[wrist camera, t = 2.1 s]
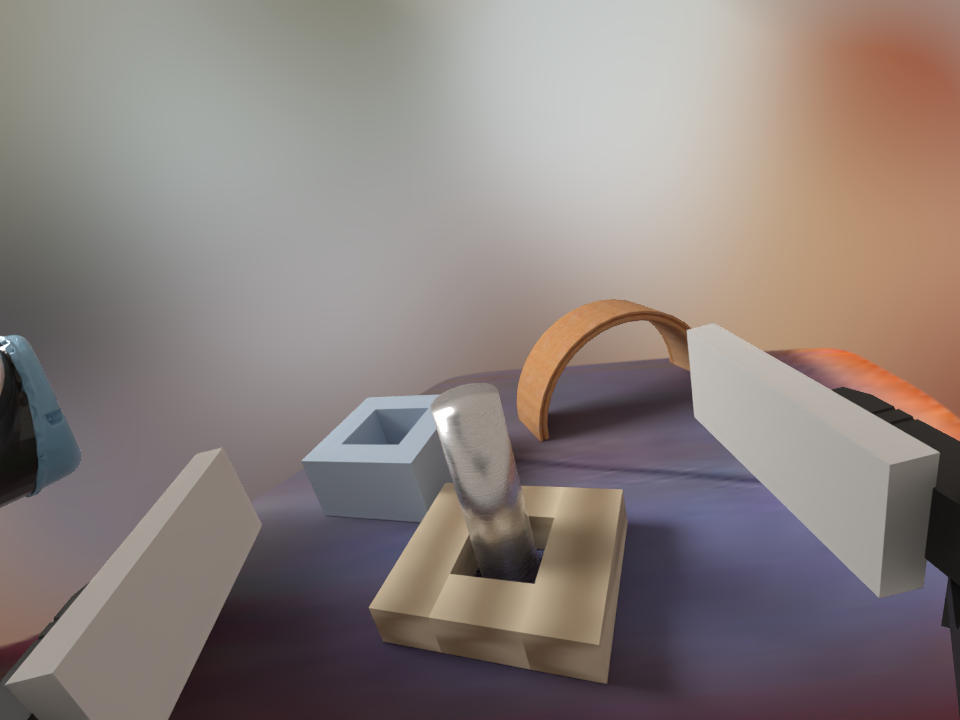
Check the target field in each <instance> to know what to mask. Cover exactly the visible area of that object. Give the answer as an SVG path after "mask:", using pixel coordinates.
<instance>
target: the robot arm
mask: <svg viewBox="0 0 960 720" xmlns="http://www.w3.org/2000/svg"><path fill="white" fill-rule="evenodd" d="M687 340H688V351H689V363H690V374H691V385H692V396H693V407H694V417H695V418H696V419H697V420H698V421H699V422H700V423H701V424H702V425H703V426H704V427H705V428H706V429H707V430H708V431H709V432H710V433H711V434H712V435H713V436H714V437H715V438H716V439H717V440H718V441H720V442H721V443H722V444H723V445H724V446H725V447H726V448H727V449H728V450H729V451H730V452H731V453H732V454H733V455H734V456H735V457H736V458H737V459H738V460H739V461H740V462H741V463H742V464H743V465H744V466H745V467H746V468H747V469H748V470H749V471H750V472H751V473H752V474H753V475H754V476H755V477H756V478H757V479H758V480H759V481H760V482H761V483H762V484H763V485H764V486H765V487H766V488H767V489H768V490H769V491H770V492H771V493H773V494H774V495H775V496H776V497H777V498H778V499H779V500H780V501H781V502H782V503H783V504H784V505H785V506H786V507H787V508H788V509H789V510H790V511H791V512H792V513H793V514H794V515H795V516H796V517H797V518H798V519H799V520H800V521H801V522H802V523H803V524H804V525H805V526H806V527H807V528H808V529H809V530H810V531H811V532H812V533H813V534H814V535H815V536H816V537H817V538H818V539H819V540H820V541H821V542H822V543H823V544H824V545H826V546H827V547H828V548H829V549H830V550H831V551H832V552H833V553H834V554H835V555H836V556H837V557H838V558H839V559H840V560H841V561H842V562H843V563H844V564H845V565H846V566H847V567H848V568H849V569H850V570H851V571H852V572H853V573H854V574H855V575H856V576H857V577H858V578H859V579H860V580H861V581H862V582H863V583H864V584H865V585H866V586H867V587H868V588H869V589H870V590H871V591H872V592H873V593H874V594H875V595H876V596H877V597H879V598H882V597H886V596H890V595H894V594H898V593H902V592H906V591H910V590H914V589H919V588H923V585H924V577H925V569H926V561H927V560H928V561H929V562H930V563H932V564H933V565H934V566H935V567H937V568H938V569H939V570H940V571H942V572H943V573H944V574H945V575H947V576H948V584H947V591H946V598H945V604H944V611H943V618H942V625H941V626H944V627H948V628H950V632H951V641H952V651H953V660H954V669H955V678H956V688H957V697H958V706H959V715H960V441H958V440H956V439H954V438H952V437H950V436H948V435H947V434H945V433H943V432H941V431H939V430H937V429H935V428H933V427H931V426H930V425H928V424H926V423H924V422H922V421H920V420H918V419H917V420H914V419H913V416H911V415H909V414H907V413H905V412H903V411H901V410H899V409H897V410H895V408H894V406H892V405H890V404H888V403H886V402H884V401H882V400H881V399H879V398H877V397H875V396H873V395H871V394H867V393H863V392H860V391H856V390H852V389H849V388H845V387H841V388H837V389H833V390H830V389H828V388H827V387H825V386H823V385H821V384H820V383H818V382H816V381H814V380H813V379H811V378H809V377H807V376H806V375H804V374H802V373H800V372H799V371H797V370H795V369H793V368H792V367H790V366H788V365H786V364H785V363H783V362H781V361H779V360H778V359H776V358H774V357H772V356H771V355H769V354H767V353H765V352H764V351H762V350H760V349H758V348H757V347H755V346H753V345H751V344H750V343H748V342H746V341H744V340H743V339H741V338H739V337H737V336H736V335H734V334H732V333H731V332H729V331H727V330H725V329H723V328H722V327H720V326H718V325H717V324H715V323H712V324H708V325H705V326H700V327H697V328H692V329H689V330H687ZM81 457H82V455H81V451H80V448H79V445H78V443H77V441H76V439H75V436H74V434H73V432H72V430H71V428H70V426H69V424H68V422H67V420H66V418H65V416H64V414H63V412H62V409H61V407H60V405H59V403H58V401H57V398H56V396H55V394H54V392H53V389H52V387H51V385H50V383H49V381H48V379H47V377H46V375H45V373H44V371H43V369H42V367H41V365H40V363H39V361H38V359H37V357H36V355H35V353H34V351H33V349H32V347H31V345H30V344H29V342H28V341H27V340H26V339H25V338H24V337H21V336H19V335H10V336H5V337H3V336H0V508H1V507H3V506H6V505H8V504H10V503H12V502H14V501H17V500H19V499H21V498H23V497H31V496H34V495H36V494H38V493H39V492H40V491H41V490H42V489H43V488H45V487H47V486H49V485H51V484H53V483H55V482H57V481H59V480H61V479H63V478H65V477H67V476H68V475H70V474H72V473H73V472H74V471H75V470H76V469H77V468H78V466H79V464H80V462H81ZM261 527H262V524H261V522H260V520H259V518H258V516H257V514H256V512H255V510H254V508H253V506H252V504H251V502H250V500H249V498H248V496H247V494H246V492H245V490H244V488H243V486H242V485H241V482H240V481H239V478H238V476H237V475H236V472H235V470H234V469H233V466H232V464H231V463H230V461H229V459H228V457H227V455H226V453H225V451H224V449H223V448H219V449H215V450H211V451H207V452H203V453H199V454H196V455H195V456H194V457H193V459H192V460H191V461H190V462H189V463H188V465H187V466H186V467H185V468H184V470H183V471H182V472H181V473H180V474H179V476H178V477H177V478H176V479H175V481H174V482H173V483H172V484H171V485H170V486H169V488H168V489H167V490H166V491H165V492H164V494H163V495H162V496H161V497H160V498H159V500H158V501H157V502H156V503H155V504H154V506H153V507H152V508H151V510H149V512H148V513H147V514H146V515H145V517H144V518H143V519H142V520H141V521H140V522H139V524H138V525H137V526H136V527H135V529H134V530H133V531H132V532H131V534H130V535H129V536H128V537H127V538H126V539H125V541H124V542H123V543H122V544H121V545H120V547H119V548H118V549H117V550H116V551H115V553H114V554H113V555H112V556H111V557H110V559H109V560H108V561H107V562H106V563H105V565H104V566H103V567H102V568H101V569H100V571H99V572H98V573H97V574H96V575H95V577H94V578H93V579H92V580H91V581H90V582H89V583H88V584H86V585H85V586H84V587H83V588H82V589H80V590H79V591H78V592H77V593H76V594H75V595H74V596H72V597H71V598H70V600H69V601H68V602H67V603H66V604H65V605H64V607H63V608H62V609H61V610H60V611H59V613H58V614H57V615H56V616H55V617H54V622H52V623H49V624H48V626H47V627H46V628H45V629H44V630H43V632H42V633H41V634H40V635H39V636H38V638H39V639H38V641H34V642H33V643H32V645H31V646H30V647H29V648H28V649H27V650H26V652H25V653H24V654H23V655H22V656H21V658H20V659H19V660H18V661H17V662H16V664H15V665H14V666H13V667H12V668H11V669H10V671H9V672H8V673H7V674H6V675H5V677H4V678H3V679H2V680H1V681H0V720H168V719H169V717H170V715H171V712H172V710H173V708H174V706H175V704H176V702H177V700H178V698H179V696H180V694H181V692H182V690H183V688H184V686H185V684H186V681H187V679H188V677H189V675H190V673H191V671H192V669H193V667H194V665H195V663H196V661H197V659H198V657H199V655H200V653H201V651H202V648H203V646H204V644H205V642H206V640H207V638H208V636H209V634H210V632H211V630H212V628H213V626H214V624H215V622H216V620H217V618H218V615H219V613H220V611H221V609H222V607H223V605H224V603H225V601H226V599H227V597H228V595H229V593H230V591H231V589H232V587H233V584H234V582H235V580H236V578H237V576H238V574H239V572H240V570H241V568H242V566H243V564H244V562H245V560H246V558H247V556H248V554H249V551H250V549H251V547H252V545H253V543H254V541H255V539H256V537H257V535H258V533H259V531H260V529H261Z"/></svg>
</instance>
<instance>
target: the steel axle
mask: <svg viewBox="0 0 960 720" xmlns="http://www.w3.org/2000/svg"><path fill="white" fill-rule="evenodd" d="M431 412H432V415H433V419H434V422H435V425H436V428H437V432H438V435H439V438H440V441H441V445H442V448H443V451H444V455H445V458H446V461H447V464H448V468H449V471H450V474H451V477H452V481H453V484H454V487H455V491H456V494H457V497H458V500H459V504H460V507H461V510H462V513H463V517H464V520H465V523H466V526H467V530H468V533H469V536H470V540H471V543H472V546H473V549H474V553H475V556H476V559H477V562H478V566H479V569H480V572H481V576H482V578H489V579H497V580H505V581H514V582H522V583H531V584H535V581H536V577H537V574H538V571H539V567H540V561H539V557H538V553H537V549H536V545H535V541H534V537H533V533H532V529H531V524H530V520H529V516H528V512H527V508H526V504H525V500H524V496H523V492H522V487H521V483H520V479H519V475H518V471H517V467H516V463H515V459H514V455H513V451H512V446H511V442H510V438H509V434H508V430H507V426H506V422H505V418H504V414H503V409H502V405H501V401H500V397H499V393H498V390H497V388H496V387H494V386H493V385H490V384H486V383H471V384H465V385H461V386H458V387H455V388H452V389H450V390H448V391H446V392H444V393H442V394H441V395H439V396H438V397H437V398H436V399H435V400H434V401H433V402H432V404H431Z"/></svg>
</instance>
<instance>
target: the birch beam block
mask: <svg viewBox="0 0 960 720" xmlns="http://www.w3.org/2000/svg"><path fill="white" fill-rule="evenodd" d="M521 487H522V492H523V496H524V500H525V504H526V508H527V512H528V516H529V520H530V524H531V529H532V533H533V537H534V541H535V545H536V549H545V551H544V554H543V558H542V561H541V564H540V567H539V571H538V574H537V577H536V581H535V584H531V583H522V582H514V581H505V580H497V579H489V578H480V577H475V575H476V572H477V570H478V568H479V566H478V562H477V559H476V556H475V553H474V549H473V546H472V543H471V540H470V536H469V533H468V530H467V526H466V523H465V520H464V517H463V513H462V510H461V507H460V504H459V500H458V497H457V494H456V491H455V487H454V484H453V483H445V484H444V486H443V487H442V489H441V491H440V492H439V494H438V496H437V497H436V499H435V500H434V502H433V504H432V505H431V507H430V509H429V510H428V512H427V514H426V515H425V517H424V518H423V520H422V522H421V523H420V525H419V527H418V528H417V530H416V531H415V533H414V535H413V536H412V538H411V540H410V541H409V543H408V544H407V546H406V548H405V549H404V551H403V553H402V554H401V556H400V557H399V559H398V561H397V562H396V564H395V566H394V567H393V569H392V571H391V572H390V574H389V575H388V577H387V579H386V580H385V582H384V584H383V585H382V587H381V588H380V590H379V592H378V593H377V595H376V597H375V598H374V600H373V601H372V603H371V605H370V606H369V610H370V612H371V615H372V617H373V619H374V621H375V624H376V626H377V628H378V631H379V633H380V635H381V638H382V640H383V642H388V643H394V644H399V645H404V646H409V647H415V648H420V649H425V650H430V651H436V652H441V653H446V654H451V655H457V656H462V657H467V658H472V659H478V660H483V661H488V662H493V663H499V664H504V665H509V666H514V667H520V668H525V669H530V670H535V671H541V672H546V673H551V674H556V675H562V676H567V677H572V678H577V679H583V680H588V681H593V682H598V683H604V684H607V680H608V672H609V664H610V656H611V648H612V641H613V633H614V625H615V617H616V609H617V602H618V594H619V586H620V578H621V570H622V562H623V555H624V547H625V539H626V531H627V523H628V522H627V516H626V509H625V502H624V496H623V490H621V489H595V488H569V487H543V486H521Z"/></svg>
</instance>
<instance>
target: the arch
mask: <svg viewBox="0 0 960 720" xmlns="http://www.w3.org/2000/svg"><path fill="white" fill-rule="evenodd" d="M638 320H646V321H649V322H651V323H652V324H653V325H654V326H655V327H656V328H657V330H658V331H659V332H660V334H661V335H662V337H663V339H664V341H665V343H666V345H667V348H668V352H669V356H670V362H673V364H675V365H677V366H679V367H681V368H684V369H686V370H688V371H690V363H689V351H688V340H687V330H689V329H691V328H690V327H689V326H688V325H687V324H686V323H685V322H683V321H681V320H679V319H678V318H676V317H674V316H672V315H669V314H666V313H663V312H660V311H657V310H654V309H651V308H648V307H645V306H642V305H639V304H636V303H633V302H629V301H626V300H614V299H611V300H602V301H596V302H592V303H589V304H585V305H583V306H581V307H579V308H577V309H575V310H572V311H571V312H569V313H567V314H566V315H565V316H563V317H562V318H560V319H559V320H557V321H556V322H555V323H554V324H553V325H552V326H551V327H550V328H549V329H548V330H547V331H546V332H545V333H544V334H543V335H542V336H541V338H540V339H539V340H538V342H537V343H536V344H535V346H534V347H533V349H532V351H531V353H530V354H529V356H528V358H527V360H526V362H525V365H524V368H523V370H522V373H521V376H520V381H519V385H518V390H517V410H518V416H519V419H520V420H521V421H522V422H523V423H524V425H525V426H526V427H527V428H528V429H529V430H530V431H531V432H532V433H533V434H534V435H535V436H536V437H537V438H538V439H539V441H540V442H542V441H543V439H548V438H549V434H548V427H547V422H548V409H549V405H550V400H551V396H552V393H553V391H554V388H555V385H556V383H557V380H558V379H559V377H560V375H561V373H562V372H563V370H564V368H565V366H566V365H567V364H568V363H569V361H570V360H571V359H572V358H573V356H574V355H575V353H577V352H578V351H579V350H580V349H581V348H582V347H583V346H584V345H585V344H586V343H587V342H588V341H590V340H591V339H593V338H594V337H595V336H597V335H598V334H600V333H601V332H603V331H605V330H607V329H609V328H611V327H613V326H616V325H619V324H623V323H626V322H630V321H638Z"/></svg>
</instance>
